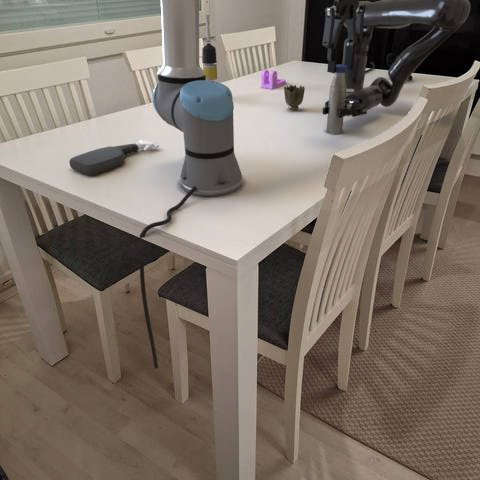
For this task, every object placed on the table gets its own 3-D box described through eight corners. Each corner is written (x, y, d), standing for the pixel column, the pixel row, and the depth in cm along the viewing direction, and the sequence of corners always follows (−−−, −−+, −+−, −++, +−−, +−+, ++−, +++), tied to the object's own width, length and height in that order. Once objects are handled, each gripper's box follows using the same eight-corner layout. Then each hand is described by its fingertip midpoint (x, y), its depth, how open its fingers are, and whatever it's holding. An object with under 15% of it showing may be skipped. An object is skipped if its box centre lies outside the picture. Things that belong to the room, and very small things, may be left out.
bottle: (338, 135, 139) (345, 70, 129) (324, 132, 141) (329, 68, 131) (344, 130, 143) (351, 67, 133) (329, 128, 145) (335, 65, 135)
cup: (280, 111, 162) (280, 88, 158) (287, 106, 167) (288, 84, 163) (299, 113, 159) (300, 90, 155) (306, 108, 164) (308, 85, 160)
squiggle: (400, 92, 202) (376, 71, 205) (417, 76, 202) (392, 56, 205) (405, 81, 191) (380, 59, 194) (423, 64, 191) (397, 42, 194)
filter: (220, 99, 177) (217, 15, 161) (206, 100, 176) (202, 16, 160) (215, 96, 182) (212, 14, 166) (202, 97, 180) (197, 14, 164)
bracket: (272, 88, 190) (272, 71, 187) (261, 87, 193) (261, 70, 189) (288, 83, 199) (288, 66, 195) (277, 81, 202) (278, 65, 198)
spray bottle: (67, 168, 120) (139, 144, 136) (91, 178, 114) (163, 151, 130) (65, 157, 118) (137, 134, 134) (89, 167, 112) (162, 142, 128)
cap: (339, 69, 135) (339, 63, 134) (349, 71, 132) (350, 65, 131) (329, 71, 133) (330, 65, 132) (340, 73, 130) (341, 67, 129)
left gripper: (332, -18, 113) (324, 77, 125) (383, -20, 122) (371, 68, 134) (312, -18, 118) (307, 73, 131) (363, -21, 127) (353, 64, 139)
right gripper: (342, 86, 150) (312, 96, 139) (381, 93, 141) (353, 104, 131) (339, 109, 154) (311, 120, 143) (377, 116, 145) (350, 129, 135)
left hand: (339, 70), depth 132 cm, fingers open, 6 cm apart
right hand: (331, 112), depth 137 cm, fingers closed on bottle, 5 cm apart
